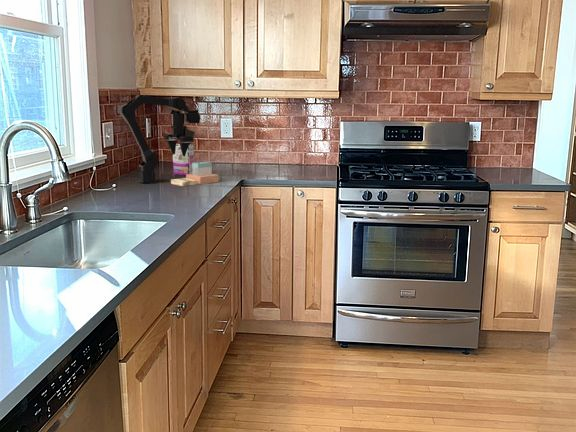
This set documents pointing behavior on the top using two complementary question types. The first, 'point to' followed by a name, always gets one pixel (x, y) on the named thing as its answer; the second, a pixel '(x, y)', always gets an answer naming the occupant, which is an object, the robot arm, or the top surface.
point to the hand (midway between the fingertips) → (178, 155)
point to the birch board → (183, 182)
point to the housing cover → (201, 164)
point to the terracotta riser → (203, 178)
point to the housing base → (202, 171)
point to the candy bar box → (183, 161)
